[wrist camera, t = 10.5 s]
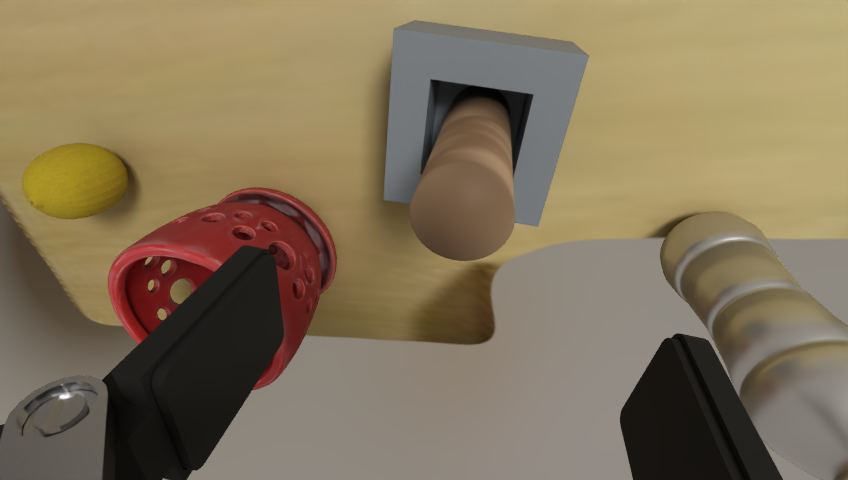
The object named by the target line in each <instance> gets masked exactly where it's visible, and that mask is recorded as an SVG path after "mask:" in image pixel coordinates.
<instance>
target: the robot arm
mask: <svg viewBox="0 0 848 480" xmlns="http://www.w3.org/2000/svg"><path fill="white" fill-rule="evenodd" d="M283 338H284V327H283V318H282V310H281V301H280V292H279V283H278V274H277V266H276V259H275V258H274V257H273V256H270V252H269V251H268V250H267V249H264V248H259V247H254V246H249V245H243V246H241V247H240V248H239V249H238V250H237V251H236V252H235V253H234V254H233V255H231V256H230V257H229V258H228V259H227V260H226V261H225V262H224V263H223V264H222V265H221V266H220V267H219V268H218V269H217V270H216V271H215V272H214V273H213V274H212V275H211V276H210V277H209V278H208V279H206V280H205V281H204V282H203V283H202V284H201V285H200V286H199V287H198V288H197V289H196V290H195V291H194V292H193V293H192V294H191V295H190V296H189V297H188V298H187V299H186V300H185V301H184V302H183V303H181V304H180V305H179V306H178V307H177V308H176V309H175V310H174V311H173V312H172V313H171V314H170V315H169V316H168V317H167V318H166V319H165V320H164V321H163V322H162V323H161V324H160V325H159V326H157V327H156V328H155V329H154V330H153V331H152V332H151V333H150V334H149V335H148V336H147V337H146V338H145V339H144V340H143V341H142V342H141V343H140V344H139V345H138V346H137V347H136V348H135V349H134V350H132V351H131V352H130V354H128V355H127V356H126V357H125V358H124V359H123V360H122V361H121V362H120V363H119V364H118V365H117V366H116V367H115V368H114V369H113V370H112V371H111V372H110V373H109V374H108V375H107V376H106V377H105V378H104V379H103V380H101V379H99V378H96V377H93V376H87V375H86V376H84V375H76V376H71V377H65V378H62V379H59V380H56V381H53V382H51V383H48V384H46V385H45V386H42V387H41V388H39V389H37V390H35V391H33V392H32V393H31V394H29V395H28V396H27V397H25V398H24V399H23V400H22V401H20V402H19V403H18V405H17V406H16V407H15V408H14V409H13V410H12V411H11V412H10V414H9V416H8V418H7V420H6V422H5V424H3V425H0V480H162V479H163V478H165V479H168V480H187V478H188V477H189V475H190V474H191V472H192V470H198V469H200V468H201V467H202V466H203V465H204V463H205V462H206V460H207V459H208V457H209V456H210V454H211V452H212V451H213V450H214V448H215V446H216V445H217V443H218V442H219V440H220V439H221V437H222V436H223V434H224V433H225V431H226V429H227V428H228V426H229V425H230V423H231V422H232V420H233V419H234V417H235V416H236V414H237V413H238V411H239V409H240V408H241V406H242V405H243V403H244V402H245V400H246V398H247V397H248V396H249V394H250V393H251V391H252V389H253V388H254V386H255V385H256V383H257V382H258V380H259V379H260V377H261V376H262V374H263V372H264V371H265V369H266V368H267V366H268V365H269V363H270V362H271V360H272V359H273V357H274V356H275V354H276V352H277V351H278V349H279V348H280V346H281V344H282V342H283ZM620 424H621V429H622V434H623V437H624V442H625V446H626V450H627V455H628V459H629V464H630V468H631V472H632V477H633V480H783V479H782V477H781V475H780V473H779V471H778V469H777V467H776V466H775V464H774V462H773V460H772V458H771V456H770V455H769V453H768V451H767V449H766V447H765V445H764V443H763V441H762V439H761V437H760V436H759V434H758V432H757V430H756V428H755V426H754V424H753V422H752V421H751V419H750V417H749V415H748V413H747V411H746V409H745V407H744V406H743V404H742V402H741V400H740V398H739V396H738V394H737V392H736V391H735V389H734V387H733V385H732V383H731V381H730V379H729V377H728V376H727V374H726V372H725V370H724V368H723V366H722V364H721V363H720V361H719V359H718V357H717V355H716V353H715V351H714V349H713V347H712V346H711V344H710V343H709V341H708V340H706V339H703V338H698V337H693V336H689V335H684V334H675V335H674V336H673V337H672V338H666V339H665V340H664V341H663V342H662V343H661V345H660V347H659V349H658V350H657V352H656V354H655V355H654V357H653V359H652V360H651V362H650V364H649V365H648V367H647V368H646V370H645V372H644V373H643V375H642V377H641V378H640V380H639V382H638V384H637V385H636V387H635V388H634V390H633V392H632V393H631V395H630V397H629V398H628V400H627V402H626V403H625V405H624V407H623V408H622V411H621V415H620Z"/></svg>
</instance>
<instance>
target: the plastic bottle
mask: <svg viewBox="0 0 848 480" xmlns="http://www.w3.org/2000/svg"><path fill="white" fill-rule="evenodd" d="M660 259H661V265H662V269H663V273H664V275H665V278H666V280H667V281H668V282H669V284H670V285H671V286H672V288H673V289H675V291H676V292H677V293H678V295H679V296H680V297H681V298H682V299H684V300H685V301H686V302H687V303H688V304H689V305H690V307H691V308H692V309H693V311H694V312H695V313H696V315H697V316H698V317H699V319H700V320H701V321H702V322H703V324H704V325H705V326H706V328H707V329H708V331H709V333H710V335H711V337H712V339H713V341H714V342H715V345H716V347H717V349H718V351H719V353H720V355H721V357H722V359H723V361H724V363H725V365H726V368H727V370H728V373H729V375H730V378H731V381H732V384H733V386H734V389H735V391H736V392H737V394H738V396H739V398H740V400H741V402H742V404H743V406H744V407H745V409H746V411H747V413H748V415H749V417H750V419H751V421H752V422H753V424H754V426H755V428H756V430H757V432H758V434H759V436H760V437H761V439H762V440H763V441H764V442H765V443H766V444H767V445H768V446H769V447H770V448H771V449H772V450H773V451H774V452H776V453H777V454H779V455H780V456H782V457H783V458H785V459H786V460H788V461H790V462H791V463H793V464H794V465H796V466H797V467H799V468H800V469H802V470H804V471H805V472H807V473H809V474H811V475H813V476H815V477H817V478H819V479H820V480H848V325H846V324H845V323H844V322H842V321H841V320H839V319H838V318H836V317H835V316H834V315H833V314H832V313H831V312H829V311H828V310H827V309H826V308H825V307H824V306H823V305H822V304H820V303H819V302H818V301H817V300H816V299H815V298H813V297H812V296H811V295H810V294H809V293H808V292H807V291H805V290H804V289H803V288H802V287H801V286H800V285H799V284H798V282H797V281H796V280H795V278H794V277H793V276H792V275H791V273H790V272H789V271H788V270H787V269H786V267H785V266H784V265H783V264H782V262H781V261H780V260H779V258H778V256H777V254H776V252H775V250H774V248H773V247H772V245H771V244H770V242H769V241H768V239H767V238H766V237H765V235H764V234H763V232H762V231H761V230H760V229H759V228H758V227H757V226H755V225H754V224H752V223H750V222H748V221H746V220H745V219H743V218H741V217H739V216H737V215H735V214H731V213H728V212H718V211H716V212H706V213H702V214H698V215H694V216H692V217H689V218H687V219H685V220H683V221H682V222H680V223H679V224H678V225H676V226H675V227H674V228H673V229H672V230H671V232H670V233H669V234H668V235H667V237H666V238H665V240H664V242H663V244H662V247H661V252H660Z"/></svg>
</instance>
